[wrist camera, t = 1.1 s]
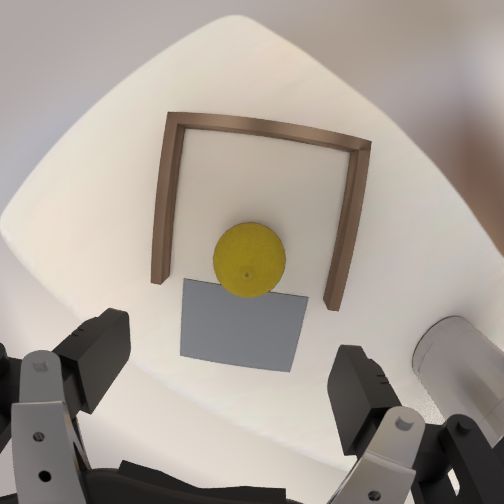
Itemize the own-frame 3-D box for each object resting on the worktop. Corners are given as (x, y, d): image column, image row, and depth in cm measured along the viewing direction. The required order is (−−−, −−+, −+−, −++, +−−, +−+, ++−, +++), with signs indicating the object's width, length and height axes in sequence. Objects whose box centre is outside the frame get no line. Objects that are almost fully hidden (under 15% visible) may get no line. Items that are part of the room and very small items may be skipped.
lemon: (281, 277, 27) (286, 315, 19) (221, 275, 27) (204, 312, 19) (284, 218, 26) (292, 234, 18) (221, 216, 26) (202, 231, 18)
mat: (308, 297, 27) (308, 297, 27) (289, 371, 29) (289, 372, 29) (183, 278, 27) (183, 278, 27) (180, 354, 30) (180, 355, 29)
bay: (362, 144, 24) (371, 141, 21) (332, 300, 27) (338, 311, 25) (176, 117, 24) (167, 111, 21) (159, 274, 27) (150, 282, 25)
